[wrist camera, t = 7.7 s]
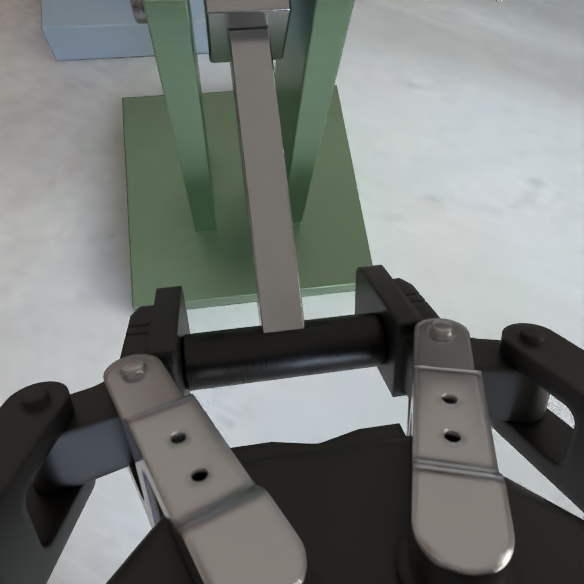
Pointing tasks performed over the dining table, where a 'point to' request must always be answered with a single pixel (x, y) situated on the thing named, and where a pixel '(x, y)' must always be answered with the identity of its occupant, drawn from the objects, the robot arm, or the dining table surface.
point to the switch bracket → (238, 166)
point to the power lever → (269, 227)
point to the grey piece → (105, 29)
